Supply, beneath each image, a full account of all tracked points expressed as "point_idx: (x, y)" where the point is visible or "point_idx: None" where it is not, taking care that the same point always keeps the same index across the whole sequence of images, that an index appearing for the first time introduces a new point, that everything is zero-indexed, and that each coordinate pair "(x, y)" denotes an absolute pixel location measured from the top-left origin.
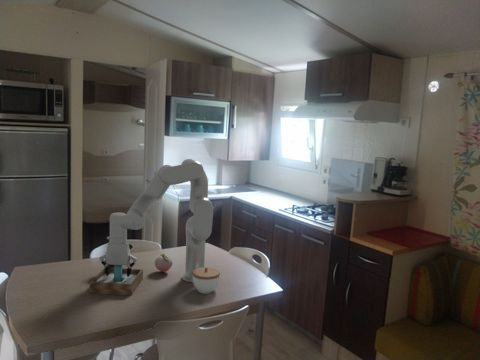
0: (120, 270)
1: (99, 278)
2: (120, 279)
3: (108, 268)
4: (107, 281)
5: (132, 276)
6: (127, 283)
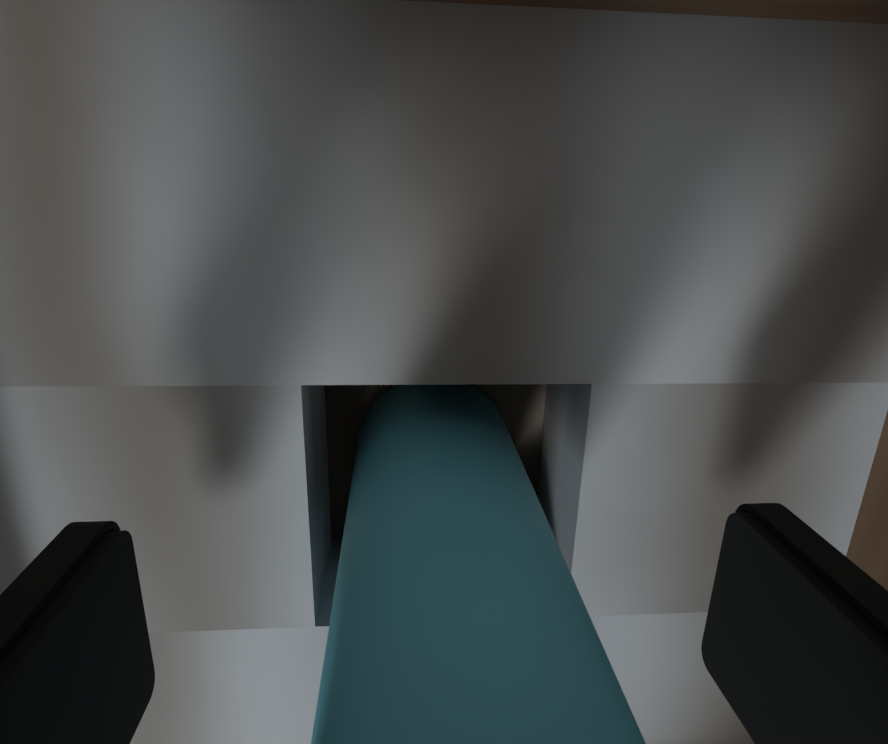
0: (338, 691)
1: (867, 497)
2: (360, 484)
3: (875, 736)
4: (657, 374)
5: (179, 712)
6: (102, 319)
